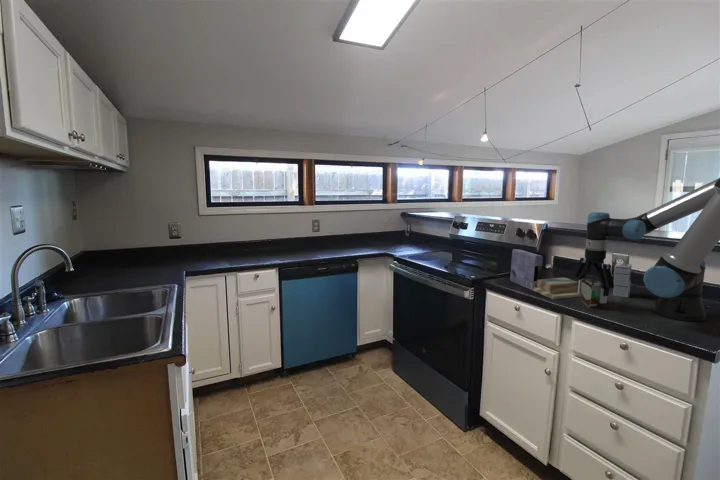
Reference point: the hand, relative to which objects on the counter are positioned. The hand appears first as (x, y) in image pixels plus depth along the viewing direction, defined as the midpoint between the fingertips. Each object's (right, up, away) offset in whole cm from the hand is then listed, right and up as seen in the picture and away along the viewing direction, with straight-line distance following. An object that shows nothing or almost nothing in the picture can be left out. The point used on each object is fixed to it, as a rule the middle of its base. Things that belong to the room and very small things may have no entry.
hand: (591, 298), depth 153 cm
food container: (0, -3, -1) cm, 3 cm away
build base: (-5, 0, +17) cm, 18 cm away
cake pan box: (-15, +1, +30) cm, 33 cm away
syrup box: (+20, 0, +10) cm, 22 cm away
